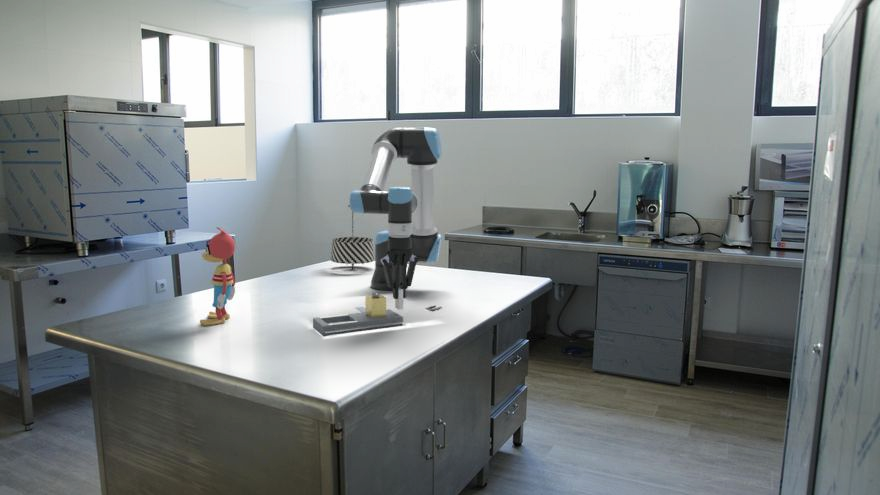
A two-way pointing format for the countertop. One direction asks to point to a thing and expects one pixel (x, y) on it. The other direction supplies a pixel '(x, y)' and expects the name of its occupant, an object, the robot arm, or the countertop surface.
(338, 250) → the pendant light
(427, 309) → the pliers
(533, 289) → the countertop surface
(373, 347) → the countertop surface
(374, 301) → the block
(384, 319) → the rail board
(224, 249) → the toy
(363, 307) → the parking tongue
